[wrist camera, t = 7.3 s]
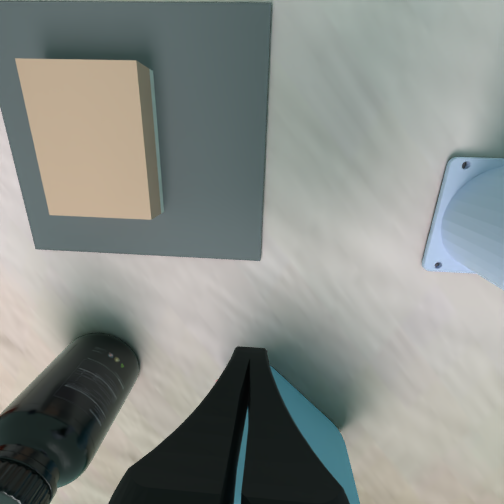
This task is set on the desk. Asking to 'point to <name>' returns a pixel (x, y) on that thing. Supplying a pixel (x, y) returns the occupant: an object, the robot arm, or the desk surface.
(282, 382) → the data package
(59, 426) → the supplement bottle
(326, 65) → the desk surface
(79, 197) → the tile
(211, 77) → the mat
